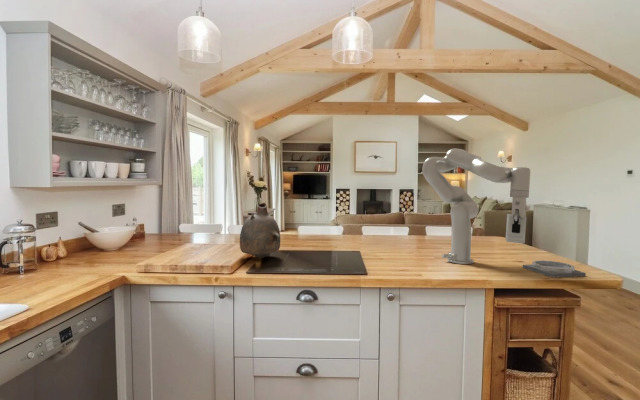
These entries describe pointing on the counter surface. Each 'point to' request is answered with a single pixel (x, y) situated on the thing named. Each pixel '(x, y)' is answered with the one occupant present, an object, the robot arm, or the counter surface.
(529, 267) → the charcoal board
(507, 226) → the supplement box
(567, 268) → the steel ring
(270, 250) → the jug
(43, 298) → the counter surface
